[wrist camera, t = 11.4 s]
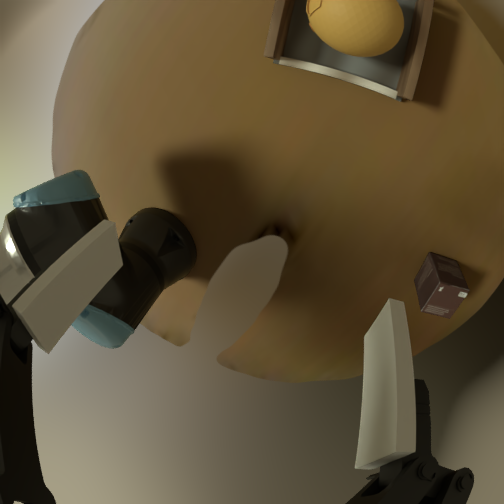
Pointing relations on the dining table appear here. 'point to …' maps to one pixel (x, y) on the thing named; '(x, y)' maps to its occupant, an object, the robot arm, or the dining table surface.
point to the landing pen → (346, 66)
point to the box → (440, 286)
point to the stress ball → (357, 25)
